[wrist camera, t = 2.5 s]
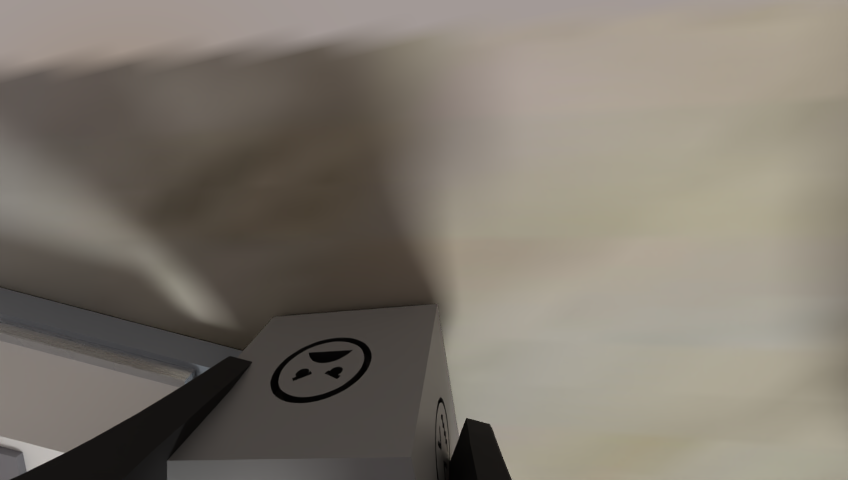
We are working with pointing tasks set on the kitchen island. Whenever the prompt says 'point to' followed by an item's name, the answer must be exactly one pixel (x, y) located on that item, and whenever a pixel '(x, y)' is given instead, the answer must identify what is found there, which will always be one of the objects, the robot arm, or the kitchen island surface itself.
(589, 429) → the kitchen island surface
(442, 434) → the dice cube
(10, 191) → the kitchen island surface
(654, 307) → the kitchen island surface
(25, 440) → the mounted modules
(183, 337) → the board
